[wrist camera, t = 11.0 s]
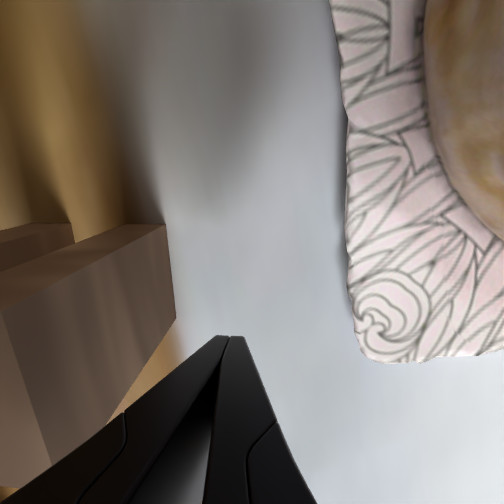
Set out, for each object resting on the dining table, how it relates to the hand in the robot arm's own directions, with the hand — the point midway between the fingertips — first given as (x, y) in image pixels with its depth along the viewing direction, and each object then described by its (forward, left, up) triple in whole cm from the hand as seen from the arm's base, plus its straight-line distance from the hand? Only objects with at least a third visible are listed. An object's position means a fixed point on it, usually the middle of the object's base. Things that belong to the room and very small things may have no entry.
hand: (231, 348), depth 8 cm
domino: (-3, +3, -5) cm, 7 cm away
